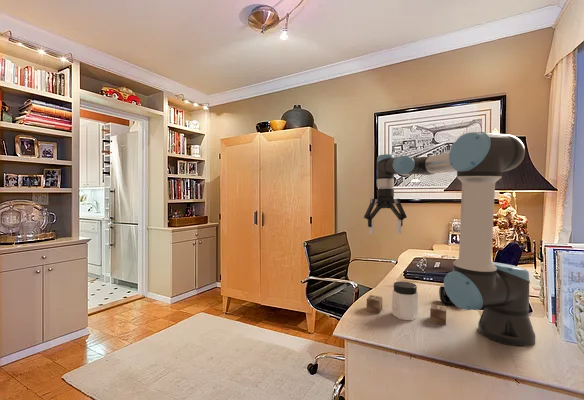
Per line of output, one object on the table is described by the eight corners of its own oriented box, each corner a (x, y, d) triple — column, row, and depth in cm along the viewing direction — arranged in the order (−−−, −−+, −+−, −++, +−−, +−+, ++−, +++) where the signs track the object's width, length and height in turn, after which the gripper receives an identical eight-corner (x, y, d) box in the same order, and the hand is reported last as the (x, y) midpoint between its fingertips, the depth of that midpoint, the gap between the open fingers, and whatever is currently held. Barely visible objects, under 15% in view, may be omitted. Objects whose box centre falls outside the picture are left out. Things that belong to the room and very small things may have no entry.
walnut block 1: (446, 319, 108) (446, 305, 108) (445, 325, 104) (446, 310, 104) (431, 317, 111) (431, 303, 111) (430, 322, 107) (430, 308, 106)
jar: (388, 312, 115) (388, 281, 114) (405, 310, 117) (406, 280, 117) (403, 322, 106) (403, 289, 106) (422, 319, 109) (422, 287, 108)
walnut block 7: (382, 309, 118) (382, 296, 118) (379, 313, 114) (379, 300, 114) (369, 307, 121) (369, 294, 120) (366, 311, 116) (366, 298, 116)
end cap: (464, 301, 127) (464, 285, 127) (470, 307, 120) (470, 291, 120) (438, 299, 129) (439, 284, 129) (443, 305, 122) (443, 289, 122)
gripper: (405, 188, 143) (405, 232, 144) (356, 188, 139) (356, 233, 139) (414, 188, 136) (414, 234, 136) (363, 188, 131) (363, 235, 132)
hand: (385, 233), depth 138 cm, fingers open, 13 cm apart
